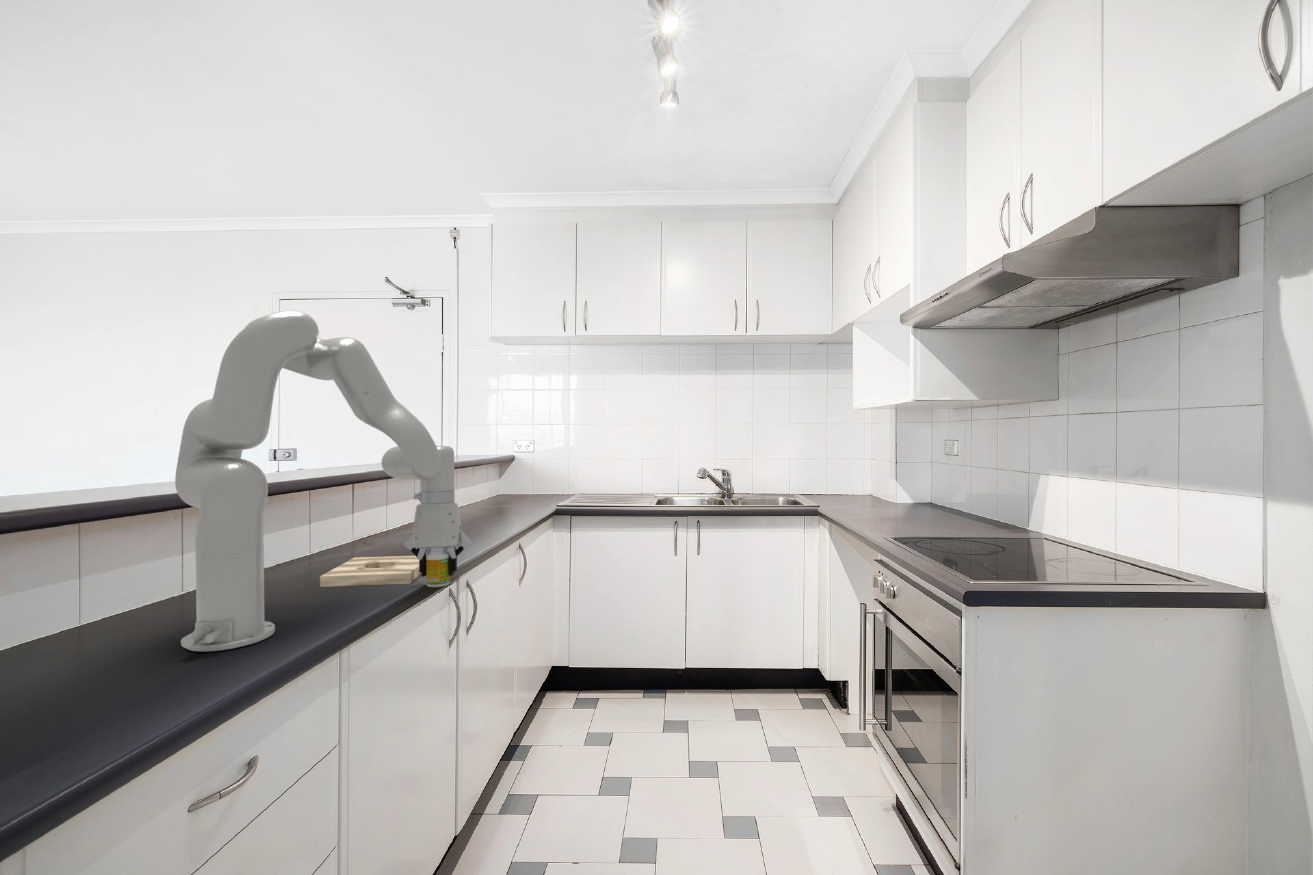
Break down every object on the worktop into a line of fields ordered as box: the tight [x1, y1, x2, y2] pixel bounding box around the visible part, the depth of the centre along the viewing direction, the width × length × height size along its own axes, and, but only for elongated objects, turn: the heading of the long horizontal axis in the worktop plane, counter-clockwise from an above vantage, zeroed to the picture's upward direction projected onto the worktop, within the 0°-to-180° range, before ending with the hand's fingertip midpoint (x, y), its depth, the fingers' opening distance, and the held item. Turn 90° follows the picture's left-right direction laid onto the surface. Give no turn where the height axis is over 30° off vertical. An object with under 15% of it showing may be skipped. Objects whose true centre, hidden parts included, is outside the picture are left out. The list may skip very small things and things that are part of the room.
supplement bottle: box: [425, 547, 452, 588], centre depth 135 cm, size 5×5×10 cm
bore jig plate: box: [319, 555, 422, 588], centre depth 145 cm, size 20×20×2 cm
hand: (438, 574), depth 135 cm, fingers closed on supplement bottle, 5 cm apart
